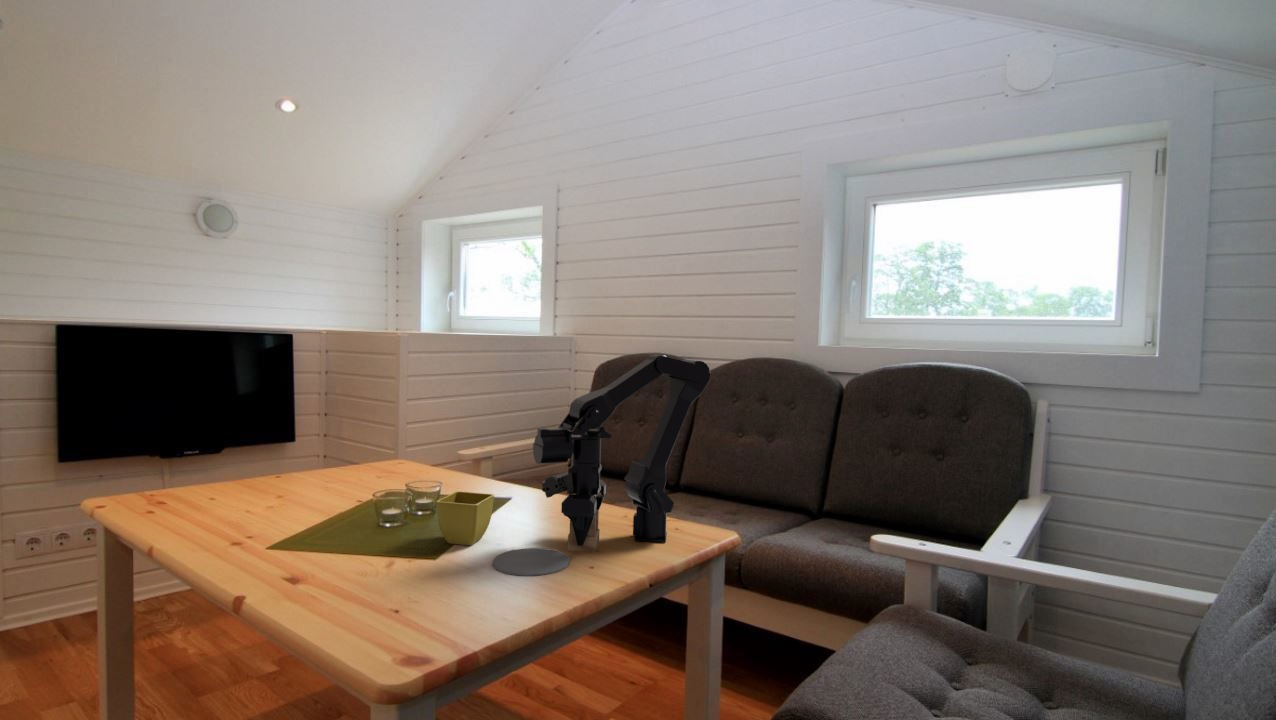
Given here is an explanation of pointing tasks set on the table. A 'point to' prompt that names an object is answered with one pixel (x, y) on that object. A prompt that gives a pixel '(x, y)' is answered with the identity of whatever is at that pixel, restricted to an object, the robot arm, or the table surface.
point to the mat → (531, 562)
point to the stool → (590, 540)
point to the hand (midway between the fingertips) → (584, 538)
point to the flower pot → (464, 516)
